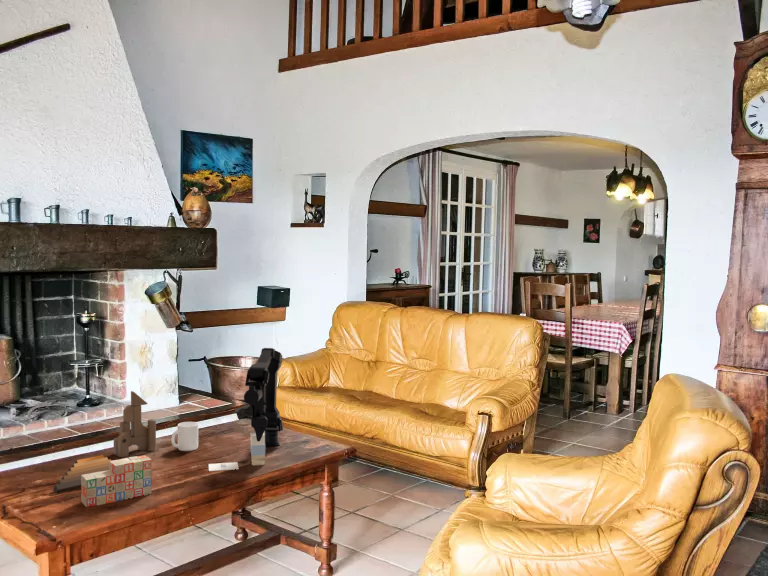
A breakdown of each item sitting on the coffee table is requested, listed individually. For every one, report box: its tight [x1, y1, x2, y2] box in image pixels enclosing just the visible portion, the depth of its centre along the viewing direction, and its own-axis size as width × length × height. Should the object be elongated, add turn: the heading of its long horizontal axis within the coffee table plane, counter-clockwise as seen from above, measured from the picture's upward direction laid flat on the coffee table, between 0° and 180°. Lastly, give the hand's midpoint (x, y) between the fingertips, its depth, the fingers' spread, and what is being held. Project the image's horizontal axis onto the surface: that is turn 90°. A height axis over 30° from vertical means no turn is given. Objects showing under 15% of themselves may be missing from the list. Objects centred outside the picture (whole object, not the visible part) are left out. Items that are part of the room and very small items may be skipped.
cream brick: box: [250, 431, 265, 446], centre depth 268 cm, size 5×5×4 cm
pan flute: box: [53, 454, 112, 495], centre depth 250 cm, size 25×3×25 cm
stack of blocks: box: [80, 454, 153, 508], centre depth 229 cm, size 21×6×12 cm, turn 128°
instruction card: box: [208, 461, 240, 472], centre depth 263 cm, size 8×11×1 cm
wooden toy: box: [113, 390, 157, 458], centre depth 278 cm, size 16×7×25 cm, turn 133°
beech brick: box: [250, 453, 266, 466], centre depth 268 cm, size 5×5×4 cm
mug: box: [170, 421, 199, 452], centre depth 284 cm, size 12×8×10 cm
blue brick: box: [250, 444, 266, 456], centre depth 268 cm, size 5×5×4 cm
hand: (257, 437), depth 268 cm, fingers open, 9 cm apart
